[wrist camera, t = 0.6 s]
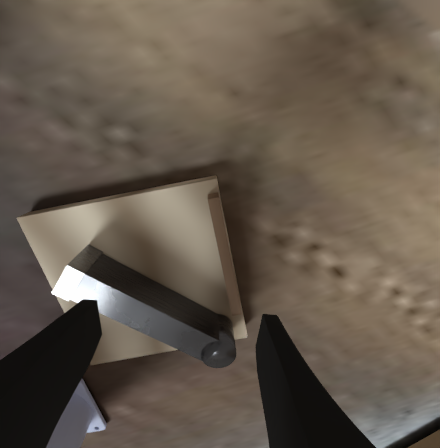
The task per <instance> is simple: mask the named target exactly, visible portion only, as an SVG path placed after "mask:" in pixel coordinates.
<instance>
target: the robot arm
mask: <svg viewBox="0 0 440 448" xmlns="http://www.w3.org/2000/svg"><path fill="white" fill-rule="evenodd" d="M101 336H102V329H101V323H100V316H99V309H98V303H97V300H88V299H82V300H81V301H80V302H78V303H77V304H76V305H75V306H73V307H72V308H71V309H69V310H68V311H67V312H65V313H64V314H63V315H62V316H60V317H59V318H58V319H56V320H55V321H54V322H53V323H51V324H50V325H49V326H47V327H46V328H45V329H43V330H42V331H41V332H39V333H38V334H37V335H35V336H34V337H33V338H31V339H30V340H28V341H27V342H26V343H24V344H23V345H21V346H20V347H18V348H17V349H16V350H14V351H13V352H11V353H10V354H8V355H7V356H6V357H4V358H3V359H1V360H0V448H81V445H82V443H83V440H84V438H85V435H86V433H89V432H95V431H101V430H104V429H105V428H106V426H107V423H106V421H105V420H104V418H103V416H102V414H101V412H100V410H99V408H98V407H97V405H96V403H95V401H94V399H93V397H92V395H91V393H90V392H89V390H88V388H87V386H86V384H85V382H84V380H83V379H82V377H83V375H84V373H85V372H86V370H87V368H88V366H89V364H90V362H91V360H92V358H93V356H94V354H95V351H96V349H97V346H98V344H99V341H100V339H101ZM256 361H257V373H258V379H259V385H260V391H261V397H262V403H263V409H264V414H265V420H266V426H267V432H268V439H269V447H270V448H376V447H375V446H374V445H373V444H372V443H371V442H370V441H369V440H368V439H367V438H366V436H365V435H364V434H363V433H362V432H361V431H360V430H359V429H358V428H357V427H356V426H355V425H354V423H353V422H352V421H351V420H350V419H349V418H348V416H347V415H346V414H345V413H344V412H343V411H342V409H341V408H340V407H339V406H338V405H337V403H336V402H335V401H334V400H333V399H332V397H331V396H330V395H329V393H328V392H327V391H326V390H325V388H324V387H323V386H322V384H321V383H320V382H319V380H318V379H317V377H316V376H315V375H314V373H313V372H312V370H311V369H310V368H309V366H308V365H307V363H306V362H305V360H304V359H303V357H302V356H301V354H300V353H299V351H298V350H297V348H296V346H295V345H294V343H293V342H292V340H291V338H290V337H289V335H288V333H287V332H286V330H285V328H284V326H283V325H282V323H281V321H280V319H279V317H278V316H277V315H268V314H263V315H262V320H261V325H260V329H259V334H258V338H257V343H256Z"/></svg>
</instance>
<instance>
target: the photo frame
mask: <svg viewBox="0 0 440 448" xmlns="http://www.w3.org/2000/svg"><path fill="white" fill-rule="evenodd" d="M408 448H440V430H438V431H436V432H434V433H433V434H431V435H429V436H427V437H426V438H424V439H422V440H420V441H418V442H417V443H415V444H413V445H411V446H409V447H408Z"/></svg>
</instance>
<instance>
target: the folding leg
mask: <svg viewBox="0 0 440 448" xmlns="http://www.w3.org/2000/svg"><path fill="white" fill-rule="evenodd" d="M102 253H103V251H101V250H99V249H97V248H95V247H93V246H91V245H89V244H88V245H87V246H86V247H85V248H84V249H83V250H82V251H81V252H80V253H79V254H78V255H77V256H76V257H75V258H74V259H73V260H72V261H71V262H69V263H68V264H67V266H66V268H65V269H64V271H63V273H62V275H61V277H60V279H59V280H58V282H57V284H56V286H55V288H54V290H53V291H52V294H54V295H56V296H58V297H60V298H62V299H65V300H67V301H69V300H72V301H74V302H77V303H78V302H80V301H81V300H82V299H88V300H97V303H98V309H99V313H100V314H102V315H105V316H107V317H109V318H111V319H113V320H115V321H117V322H120V323H122V324H124V325H126V326H128V327H130V328H132V329H135V330H137V331H139V332H141V333H143V334H145V335H148V336H150V337H152V338H154V339H156V340H158V341H160V342H163V343H165V344H167V345H169V346H171V347H173V348H175V349H178V350H180V351H182V352H184V353H186V354H188V355H191V356H193V357H195V358H197V359H199V360H201V361H203V362H204V363H205V364H206V365H207V366H209V367H213V368H222V367H226V366H228V365H230V364H231V363H232V362H233V361H234V360H235V358H236V348H235V340H234V331H233V324H232V321H231V320H230V319H229V318H228V317H227V316H225V315H221V314H217V313H215V312H213V311H211V310H209V309H207V308H205V307H203V306H202V305H200V304H198V303H196V302H194V301H192V300H190V299H188V298H186V297H184V296H182V295H181V294H179V293H177V292H175V291H173V290H171V289H169V288H167V287H165V286H163V285H162V284H160V283H158V282H156V281H154V280H152V279H150V278H148V277H146V276H144V275H142V274H141V273H139V272H137V271H135V270H133V269H131V268H129V267H127V266H125V265H123V264H122V263H120V262H118V261H116V260H114V259H112V258H110V257H108V256H106V255H104V254H102Z"/></svg>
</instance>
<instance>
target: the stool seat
mask: <svg viewBox="0 0 440 448" xmlns="http://www.w3.org/2000/svg"><path fill="white" fill-rule="evenodd" d="M17 220H18V222H19V224H20V226H21V228H22V230H23V232H24V234H25V236H26V238H27V240H28V242H29V244H30V246H31V248H32V250H33V252H34V253H35V255H36V257H37V259H38V261H39V263H40V265H41V267H42V269H43V271H44V273H45V275H46V277H47V279H48V281H49V283H50V285H51V287H52V289H53V290H54V288H55V286H56V284H57V282H58V280H59V279H60V277H61V275H62V273H63V271H64V269H65V268H66V266H67V264H68V263H69V262H71V261H72V260H73V259H74V258H75V257H76V256H77V255H78V254H79V253H80V252H81V251H82V250H83V249H84V248H85V247H86V246H87V245H88V244H89V245H91V246H93V247H95V248H97V249H99V250H101V251H103V253H102V254H104V255H106V256H108V257H110V258H112V259H114V260H116V261H118V262H120V263H122V264H123V265H125V266H127V267H129V268H131V269H133V270H135V271H137V272H139V273H141V274H142V275H144V276H146V277H148V278H150V279H152V280H154V281H156V282H158V283H160V284H162V285H163V286H165V287H167V288H169V289H171V290H173V291H175V292H177V293H179V294H181V295H182V296H184V297H186V298H188V299H190V300H192V301H194V302H196V303H198V304H200V305H202V306H203V307H205V308H207V309H209V310H211V311H213V312H215V313H217V314H221V315H225V316H227V317H228V318H229V319H230V320H231V321H232V324H233V331H234V340H235V339H241V338H246V337H248V336H247V331H246V326H245V321H244V315H243V310H242V305H241V300H240V295H239V290H238V284H237V279H236V274H235V269H234V264H233V258H232V253H231V248H230V243H229V238H228V232H227V227H226V222H225V217H224V212H223V207H222V201H221V196H220V191H219V186H218V181H217V175H214V176H209V177H204V178H199V179H194V180H189V181H184V182H178V183H173V184H168V185H163V186H158V187H153V188H148V189H143V190H138V191H133V192H128V193H123V194H118V195H112V196H107V197H102V198H97V199H92V200H87V201H82V202H77V203H72V204H67V205H62V206H57V207H52V208H47V209H41V210H36V211H31V212H28V213H26V214H24V215H22V216H20V217H18V218H17ZM56 297H57V299H58V301H59V303H60V305H61V307H62V309H63V311H64V313H65V312H67V311H68V310H69V309H71V308H72V307H73V306H75V305H76V304H77V302H74V301H72V300H69V301H67V300H65V299H62V298H60V297H58V296H56ZM99 316H100V323H101V329H102V336H101V339H100V341H99V344H98V346H97V349H96V351H95V354H94V356H93V358H92V360H91V362H90V364H91V365H96V364H102V363H107V362H113V361H118V360H124V359H129V358H135V357H140V356H146V355H152V354H157V353H163V352H168V351H174V350H178V349H175V348H173V347H171V346H169V345H167V344H165V343H163V342H160V341H158V340H156V339H154V338H152V337H150V336H148V335H145V334H143V333H141V332H139V331H137V330H135V329H132V328H130V327H128V326H126V325H124V324H122V323H120V322H117V321H115V320H113V319H111V318H109V317H107V316H105V315H102V314H100V313H99Z"/></svg>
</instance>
